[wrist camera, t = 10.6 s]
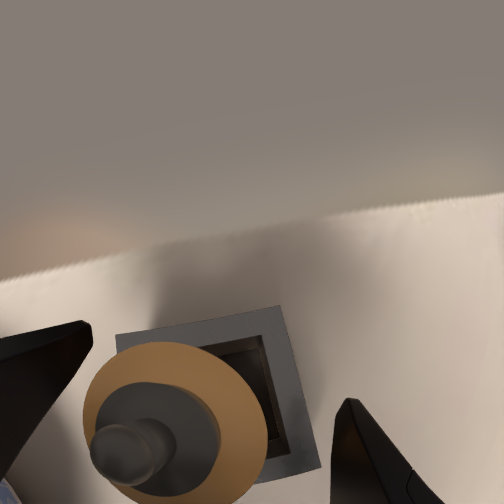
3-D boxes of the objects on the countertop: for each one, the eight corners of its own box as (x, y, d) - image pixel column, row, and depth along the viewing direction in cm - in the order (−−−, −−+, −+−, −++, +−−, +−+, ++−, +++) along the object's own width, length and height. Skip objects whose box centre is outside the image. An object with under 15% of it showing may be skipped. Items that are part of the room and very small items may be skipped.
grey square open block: (272, 325, 18) (279, 305, 14) (303, 449, 14) (321, 467, 10) (144, 348, 17) (115, 334, 13) (169, 471, 13) (146, 492, 9)
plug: (267, 401, 15) (357, 452, 2) (224, 447, 14) (149, 604, 1) (217, 360, 17) (112, 243, 4) (174, 404, 15) (-27, 412, 2)
